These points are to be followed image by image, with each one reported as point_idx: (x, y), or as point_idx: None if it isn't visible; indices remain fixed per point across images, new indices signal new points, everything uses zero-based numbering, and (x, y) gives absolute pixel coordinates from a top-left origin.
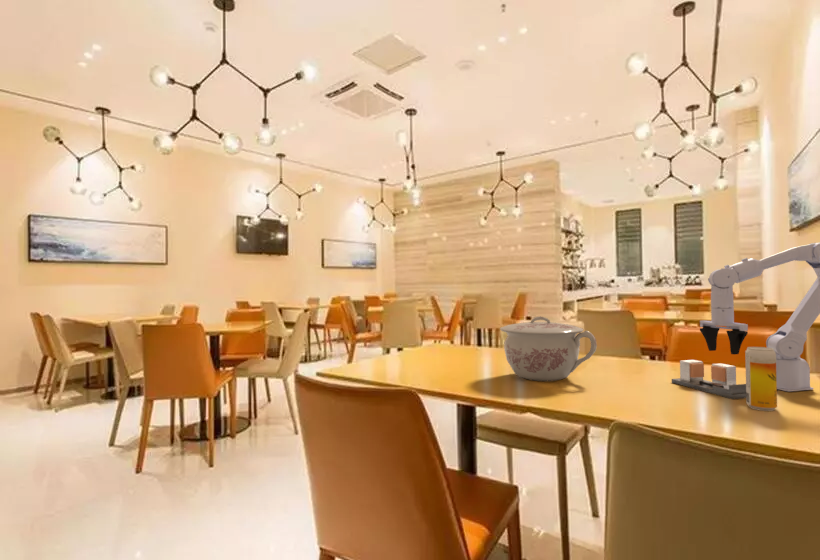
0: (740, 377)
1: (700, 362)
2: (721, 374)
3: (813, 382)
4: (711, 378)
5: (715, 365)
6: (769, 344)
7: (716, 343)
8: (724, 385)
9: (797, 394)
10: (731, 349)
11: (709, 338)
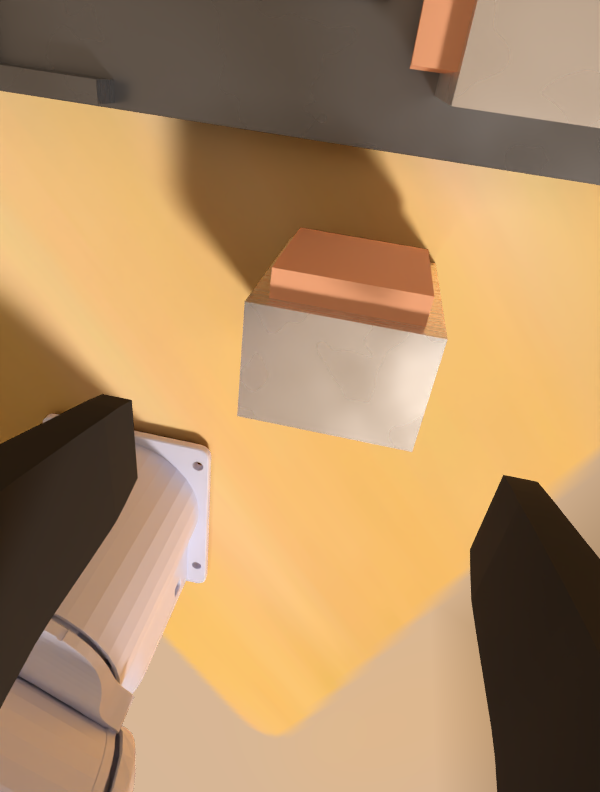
0: (431, 579)
1: (467, 47)
2: (303, 248)
3: (195, 669)
4: (427, 250)
5: (394, 326)
6: (39, 782)
7: (483, 668)
8: (204, 98)
9: (3, 399)
10: (65, 425)
11: (580, 693)
